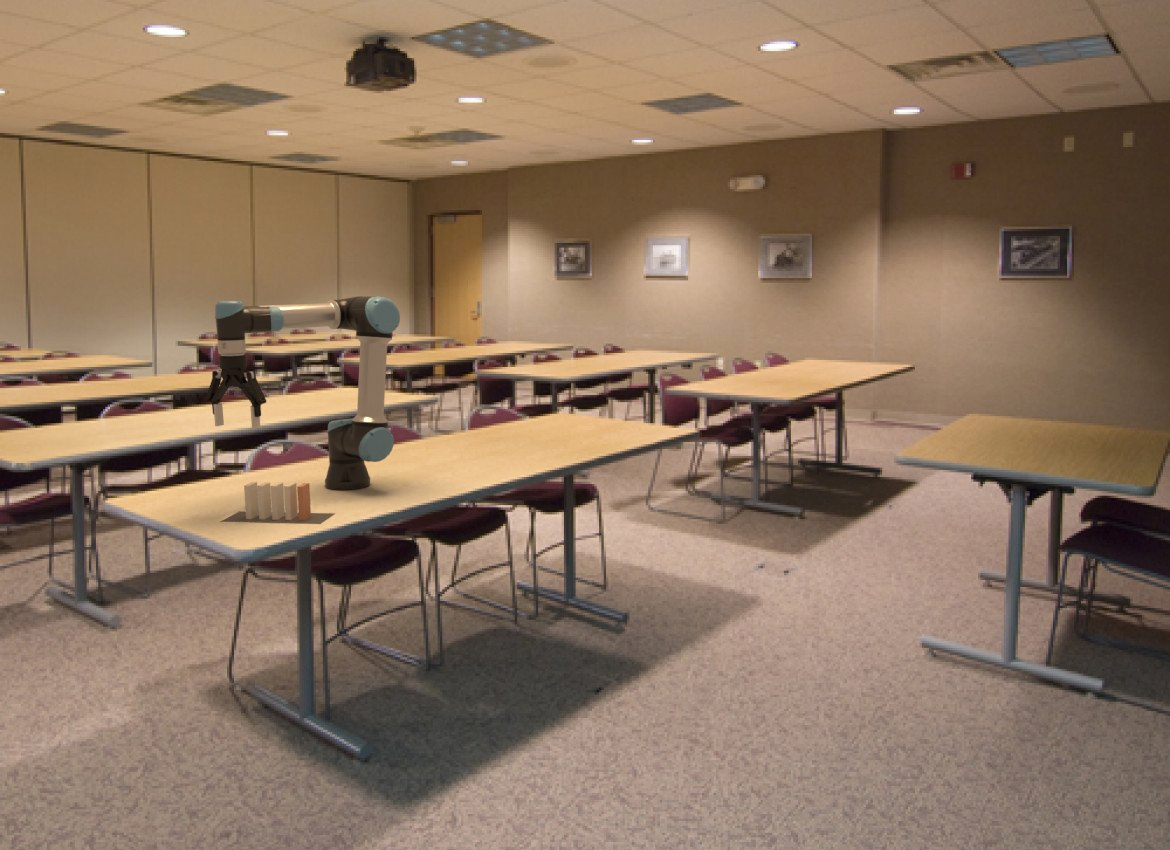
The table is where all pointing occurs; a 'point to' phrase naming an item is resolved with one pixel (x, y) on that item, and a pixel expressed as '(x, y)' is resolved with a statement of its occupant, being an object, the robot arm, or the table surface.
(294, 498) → the domino
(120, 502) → the table surface
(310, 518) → the mat
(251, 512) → the domino
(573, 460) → the table surface
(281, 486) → the domino
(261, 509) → the domino
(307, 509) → the domino
